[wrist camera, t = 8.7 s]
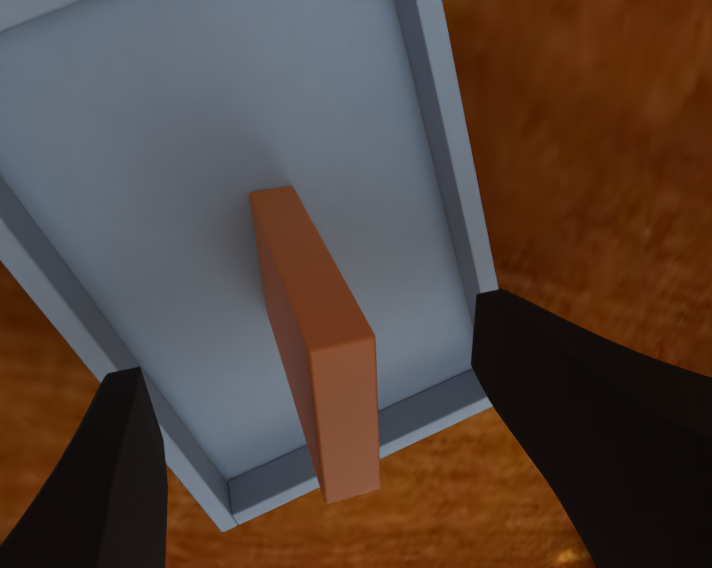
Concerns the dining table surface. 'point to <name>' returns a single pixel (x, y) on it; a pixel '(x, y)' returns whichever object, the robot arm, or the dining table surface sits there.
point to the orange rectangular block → (320, 345)
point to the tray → (242, 211)
